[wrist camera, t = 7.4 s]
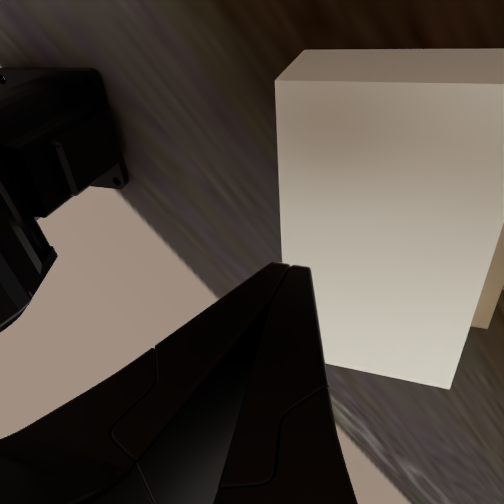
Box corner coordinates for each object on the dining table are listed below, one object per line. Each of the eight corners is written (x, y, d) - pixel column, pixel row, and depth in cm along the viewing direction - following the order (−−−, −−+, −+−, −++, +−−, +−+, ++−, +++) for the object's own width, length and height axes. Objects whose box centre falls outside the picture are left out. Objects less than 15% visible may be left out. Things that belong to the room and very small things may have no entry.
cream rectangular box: (304, 299, 26) (285, 354, 23) (304, 49, 18) (274, 80, 14) (447, 323, 24) (449, 389, 20) (524, 48, 15) (548, 84, 12)
